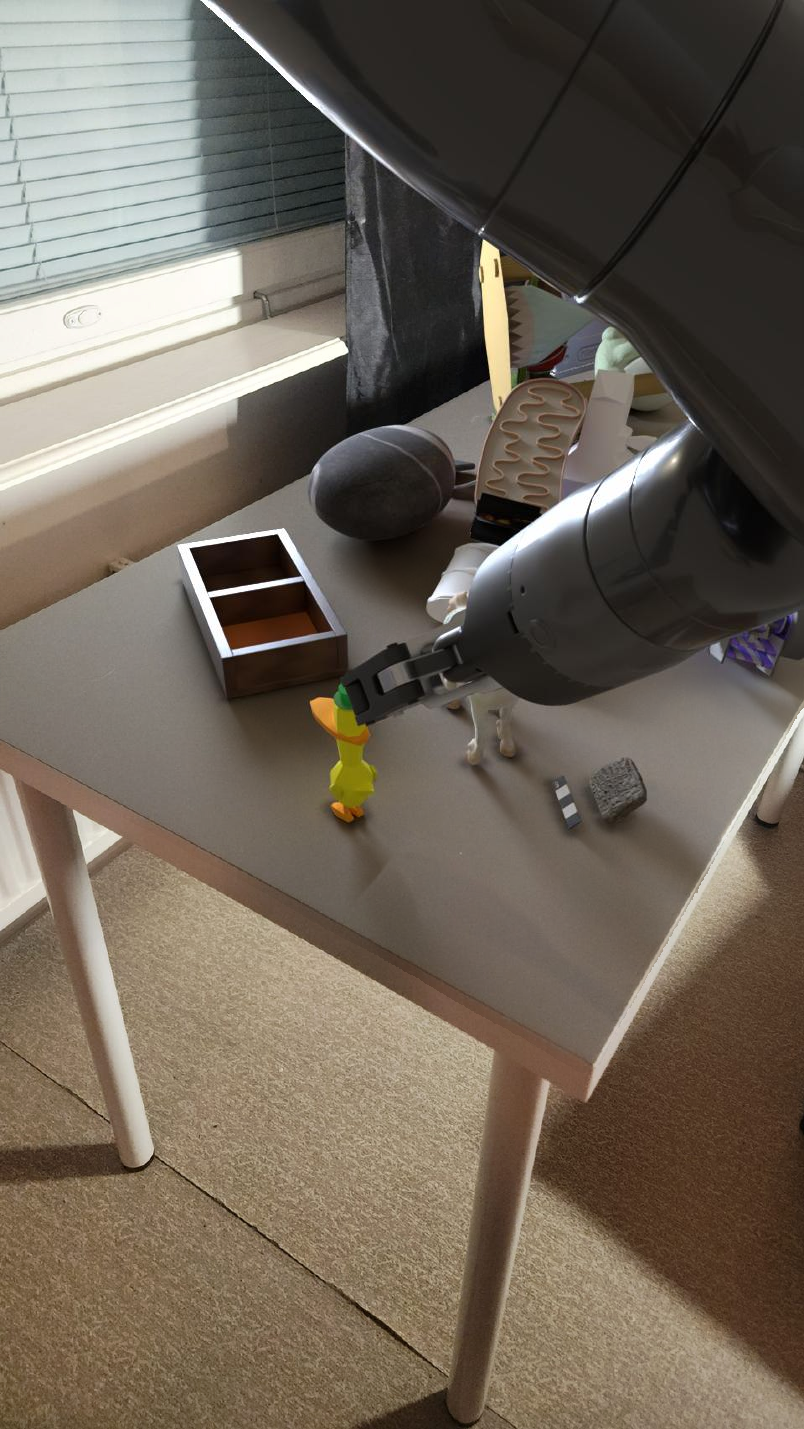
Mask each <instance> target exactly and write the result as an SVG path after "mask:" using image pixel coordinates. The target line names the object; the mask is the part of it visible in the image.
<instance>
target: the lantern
mask: <svg viewBox="0 0 804 1429" xmlns="http://www.w3.org/2000/svg"><path fill="white" fill-rule="evenodd" d="M526 285H532V286H535V287H537V288H540V289H542V290H544V291H546V292H548V293H550V294H552V295H555V296H557V297H559V298H561V299H563V298H562V293H560V292H559V291H557V290H556V289H555V288H553V287H552V286H550V285H549V284H547V283H546V282H544V281H543V280H542V279H540V278H539V277H537V276H536V275H535V276H530V279H529V280H525V283H524V285H523V286H526ZM567 342H568V340H567V341H566V342H565V343H564V344H562V345H561V346H560V347H558V348H557V349H556V350H555V351H553V352H552V353H551V354H550V355H548V356H547V357H546V358H544V359H543V360H541V361H540V362H538V363H536V364H531V365H527V366H524V367H521V368H516V370H517V372H516V373H514V374H512V375H511V390H512V389H513V388H515V387H516V386H517V385H519V384H521V383H523V382H526V381H528V380H533V379H538V378H550V379H557V378H555V377H554V376H552V375H551V374H550V372H551V371H552V370H554V366H556V365H557V364H559V363H560V362H562V361H563V359H564V356H565V353H566V349H567V348H569V347H568V346H567V345H566V344H567ZM557 380H559V379H557ZM494 412H495V413H496V414H497V410H496V408H495V407H494V409H493V412H492V414H491V420H492V421H493V420H494V418H495V416H496V415H495V413H494Z"/></svg>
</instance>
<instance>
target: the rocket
mask: <svg viewBox="0 0 804 1429" xmlns="http://www.w3.org/2000/svg"><path fill="white" fill-rule="evenodd" d="M540 511H541V507H538V506H534V505H530V504H526V503H522V502H518V501H515V500H511V499H507V498H503V497H499V496H495V495H491V494H487V493H483V492H482V494H481V498H480V500H479V499H478V500H477V508H476V507H475V511H473V514H474V519H473V520H472V524H471V526H470V529H469V533H470V534H469V539H468V540H472V541H476V542H479V543H487V544H492V545H496V546H502V545H503V544H504V543H506V542H507V541H508V540H510V539H511V538H512V537H514V536H515V535H516V534H518V533H519V532H520V531H522V530H523V529H524V528H526V527H527V526H528V525H530V524H531V523H532V522H534V521H535V520H536V519H538V518H539V517H541V516H542V514H541V513H540Z"/></svg>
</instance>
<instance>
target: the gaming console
mask: <svg viewBox="0 0 804 1429" xmlns="http://www.w3.org/2000/svg"><path fill="white" fill-rule="evenodd" d="M562 298H563V300H565V301H567V302H569V303H571V304H573V305H576V306H578V307H580V308H582V309H584V308H583V307H581V306H580V305H578V304H577V303H576V302H575V301H574V297H573V298H568V297H566V296H565V295H563V294H562ZM584 310H586V309H584ZM586 311H587V310H586ZM588 312H589V311H588ZM608 327H611V326H608V325H606V324H604V323H602V322H600V321H598V320H596V319H594V320H593V321H592V322H590V323H589V324H588V325H587V326H585V327H584V328H583V329H581V330H580V331H579V332H578V333H576V334H575V335H574V336H572V337H571V338H570V339H569V340H568V342H567V344H566V345H567V346H568V347H569V348H567V349H566V353H565V356H564V359H563V361H562V362H560V363H559V364H557V365H556V366H554V370H552V371H553V372H560V371H564V370H567V369H570V368H573V367H579V366H582V365H586V364H588V363H592V362H595V358H596V353H597V350H598V348H599V346H600V344H601V343H602V334H603V332H604V331H605V330H606V329H607V328H608ZM593 370H594V371H595V364H591V365H588V366H584V367H580V368H577V369H573V370H569V371H566V372H562V373H558V374H553V373H550V374H551V375H552V376H554V377H555V378H557V379H558V380H561V379H564V378H568V377H571V376H575V375H579V374H583V373H586V372H590V371H593Z"/></svg>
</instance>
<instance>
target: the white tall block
mask: <svg viewBox="0 0 804 1429" xmlns="http://www.w3.org/2000/svg"><path fill="white" fill-rule="evenodd" d="M594 380H595V382H594V386H593V389H592V392H591V396H590V399H589V403H588V401H587V398H585V401H586V404H587V411H586V415H585V418H584V421H583V423H582V425H581V431H580V436H579V439H578V442H576V443H575V444H574V445H572V446H571V448H570V451H569V453H568V457H567V461H566V465H565V470H564V477H563V487H562V500H563V499H565V498H566V497H567V496H569V495H570V494H572V493H573V492H575V491H576V490H578V489H579V488H581V487H583V486H585V485H586V484H588V483H590V482H592V481H594V480H596V479H598V478H601V477H603V476H605V475H607V474H609V473H611V472H613V471H614V470H616V469H617V468H618V467H620V466H621V465H622V464H624V463H625V462H627V461H628V460H629V459H631V458H632V457H633V456H635V455H636V454H634V453H633V452H632V451H631V450H630V449H628V448H631V449H634V450H636V451H638V452H640V451H642V450H643V449H644V448H646V447H647V446H648V445H650V444H651V443H653V442H654V441H655V440H657V439H658V438H657V437H656V436H651V435H633V431H634V429H633V428H631V427H630V426H628V425H627V421H628V418H629V414H630V411H631V403H632V398H633V392H634V374H627V373H621V372H614V371H608V370H602V369H598V372H597V375H596V377H595V379H594Z"/></svg>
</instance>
